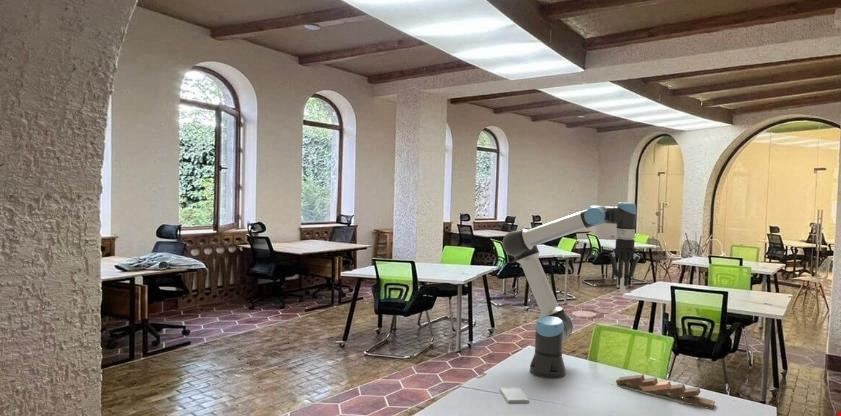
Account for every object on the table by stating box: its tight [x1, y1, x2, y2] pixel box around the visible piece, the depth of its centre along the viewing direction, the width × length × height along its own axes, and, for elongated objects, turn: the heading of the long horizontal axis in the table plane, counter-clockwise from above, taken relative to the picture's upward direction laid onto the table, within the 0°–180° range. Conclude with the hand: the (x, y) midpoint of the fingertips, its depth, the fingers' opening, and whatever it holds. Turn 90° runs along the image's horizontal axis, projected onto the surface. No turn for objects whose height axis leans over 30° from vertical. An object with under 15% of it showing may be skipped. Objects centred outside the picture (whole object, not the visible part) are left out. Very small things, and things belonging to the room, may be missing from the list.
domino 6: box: [683, 395, 716, 409], centre depth 203 cm, size 2×5×10 cm
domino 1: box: [616, 373, 646, 385], centre depth 218 cm, size 2×5×10 cm
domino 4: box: [655, 383, 686, 395], centre depth 209 cm, size 2×5×10 cm
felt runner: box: [607, 377, 685, 404], centre depth 215 cm, size 29×8×1 cm, turn 52°
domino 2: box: [629, 377, 659, 388], centre depth 215 cm, size 2×5×10 cm
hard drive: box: [499, 387, 530, 404], centre depth 204 cm, size 2×8×12 cm
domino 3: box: [641, 380, 672, 391], centre depth 212 cm, size 2×5×10 cm
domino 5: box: [670, 386, 701, 398], centre depth 206 cm, size 2×5×10 cm
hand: (622, 293), depth 228 cm, fingers closed
